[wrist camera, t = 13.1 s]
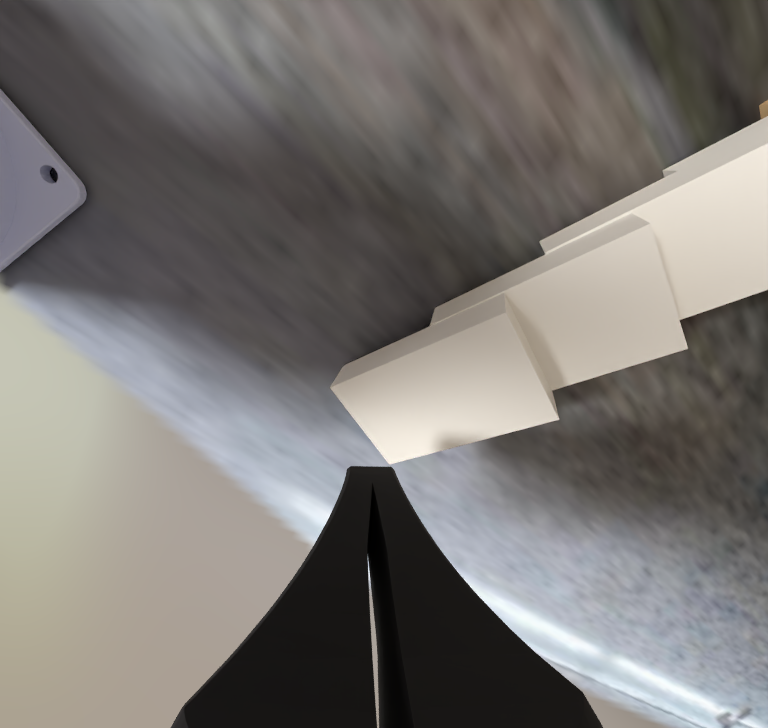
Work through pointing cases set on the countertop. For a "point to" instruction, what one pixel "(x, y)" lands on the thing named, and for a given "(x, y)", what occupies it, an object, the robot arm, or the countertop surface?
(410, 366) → the domino
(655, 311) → the domino
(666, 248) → the domino
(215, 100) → the countertop surface
